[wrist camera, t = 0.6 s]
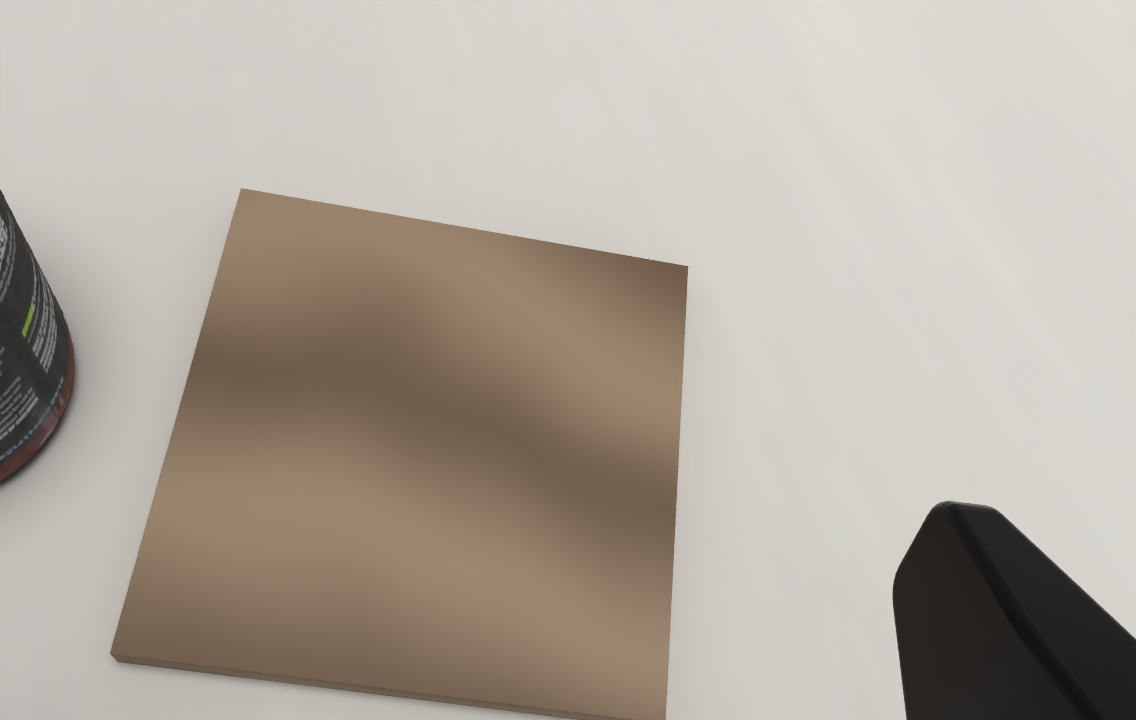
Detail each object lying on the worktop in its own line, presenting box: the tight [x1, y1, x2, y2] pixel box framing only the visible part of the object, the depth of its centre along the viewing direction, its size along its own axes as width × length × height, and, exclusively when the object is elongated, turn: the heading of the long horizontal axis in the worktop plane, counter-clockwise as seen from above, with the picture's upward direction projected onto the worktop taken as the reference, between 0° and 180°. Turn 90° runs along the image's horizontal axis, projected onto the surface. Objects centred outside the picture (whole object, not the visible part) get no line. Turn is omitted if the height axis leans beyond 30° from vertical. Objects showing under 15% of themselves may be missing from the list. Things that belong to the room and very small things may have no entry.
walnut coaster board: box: [110, 188, 688, 720], centre depth 24 cm, size 11×11×1 cm
